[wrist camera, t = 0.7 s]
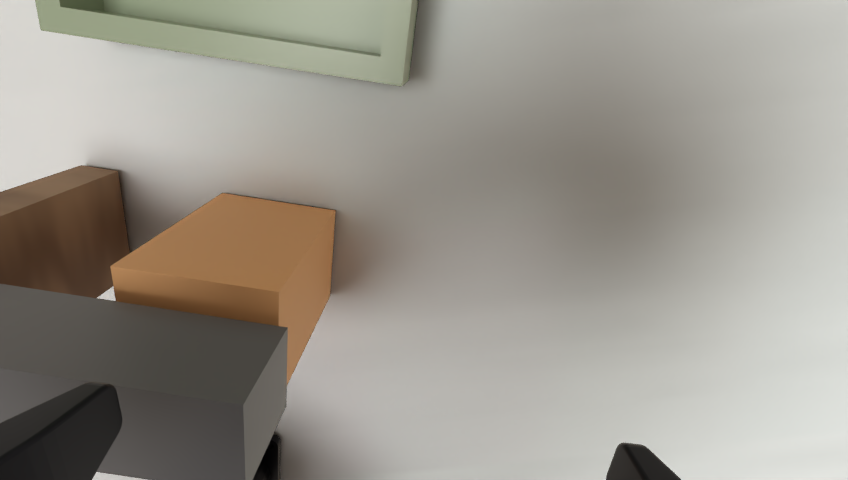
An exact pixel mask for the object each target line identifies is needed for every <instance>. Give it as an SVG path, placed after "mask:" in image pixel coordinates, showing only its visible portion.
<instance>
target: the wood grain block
mask: <svg viewBox="0 0 848 480" xmlns="http://www.w3.org/2000/svg"><path fill="white" fill-rule="evenodd" d="M128 254H130V251H129V244H128V237H127V230H126V223H125V216H124V209H123V203H122V196H121V189H120V182H119V175H118V171H114V170H108V169H101V168H95V167H88V166H82V165H81V166H78V167H75V168H72V169H69V170H66V171H63V172H60V173H57V174H54V175H51V176H48V177H45V178H42V179H39V180H36V181H32V182H29V183H26V184H23V185H20V186H17V187H14V188H11V189H8V190H5V191H2V192H0V284H6V285H12V286H19V287H25V288H32V289H39V290H45V291H52V292H58V293H65V294H71V295H78V296H84V297H91V298H97V297H98V296H100V295H101V294H103V293H104V292H105V291H107V290H108V289H110V288H111V287H112V286H113V280H112V274H111V268H110V266H111V265H113V264H114V263H116V262H117V261H119V260H120V259H122V258H124V257H125V256H127V255H128Z"/></svg>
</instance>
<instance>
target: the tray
mask: <svg viewBox="0 0 848 480" xmlns="http://www.w3.org/2000/svg"><path fill="white" fill-rule="evenodd" d="M418 1H419V0H35V2H36V7H37V13H38V18H39V23H40V28H41V30H42V31H49V32H55V33H62V34H68V35H75V36H81V37H87V38H94V39H100V40H107V41H113V42H119V43H126V44H132V45H139V46H145V47H152V48H158V49H164V50H171V51H177V52H184V53H190V54H196V55H203V56H209V57H216V58H222V59H229V60H235V61H241V62H248V63H254V64H261V65H267V66H273V67H280V68H286V69H293V70H299V71H306V72H312V73H318V74H325V75H331V76H338V77H344V78H350V79H357V80H363V81H370V82H376V83H383V84H389V85H395V86H403V85H404V84H405V83H406V82H408V81H409V75H410V67H411V58H412V50H413V42H414V34H415V25H416V17H417V9H418Z"/></svg>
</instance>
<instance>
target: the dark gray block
mask: <svg viewBox="0 0 848 480" xmlns="http://www.w3.org/2000/svg"><path fill="white" fill-rule="evenodd" d="M287 341H288V327H281V326H275V325H268V324H262V323H255V322H248V321H242V320H235V319H229V318H222V317H216V316H209V315H202V314H196V313H189V312H183V311H176V310H170V309H163V308H157V307H150V306H143V305H137V304H130V303H124V302H117V301H111V300H104V299H98V298H91V297H84V296H78V295H71V294H65V293H58V292H52V291H45V290H39V289H32V288H25V287H19V286H12V285H6V284H0V423H1V422H3V421H5V420H7V419H9V418H11V417H14V416H16V415H18V414H20V413H22V412H24V411H26V410H28V409H31V408H33V407H35V406H37V405H39V404H41V403H43V402H45V401H48V400H50V399H52V398H54V397H56V396H58V395H60V394H62V393H65V392H67V391H69V390H71V389H73V388H75V387H77V386H80V385H82V384H84V383H87V382H99V383H108V384H112V385H113V386H114V387H115V388H116V390H117V395H118V399H119V404H120V409H121V413H122V426H121V429H120V432H119V434H118V436H117V437H116V439H115V441H114V442H113V444H112V446H111V448H110V449H109V451H108V453H107V454H106V456H105V458H104V460H103V461H102V463H101V465H100V466H99V468H98V470H97V472H102V473H109V474H115V475H122V476H128V477H135V478H142V479H148V480H253V478H254V475H255V473H256V471H257V469H258V467H259V465H260V462H261V460H262V458H263V456H264V454H265V451H266V449H267V447H268V445H269V443H270V440H271V438H272V436H273V434H274V432H275V429H276V427H277V425H278V423H279V421H280V418H281V416H282V414H283V412H284V410H285V407H286V390H287Z"/></svg>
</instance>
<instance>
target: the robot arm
mask: <svg viewBox="0 0 848 480" xmlns="http://www.w3.org/2000/svg"><path fill="white" fill-rule="evenodd" d="M121 426H122V413H121V409H120V404H119V399H118V395H117V390H116V388H115V387H114V386H113V385H112V384H108V383H99V382H87V383H84V384H82V385H80V386H77V387H75V388H73V389H71V390H69V391H67V392H65V393H62V394H60V395H58V396H56V397H54V398H52V399H50V400H48V401H45V402H43V403H41V404H39V405H37V406H35V407H33V408H31V409H28V410H26V411H24V412H22V413H20V414H18V415H16V416H14V417H11V418H9V419H7V420H5V421H3V422H1V423H0V480H92V478H93V477H94V475H95V473H96V472H97V470H98V468H99V466H100V465H101V463H102V461H103V460H104V458H105V456H106V454H107V453H108V451H109V449H110V448H111V446H112V444H113V442H114V441H115V439H116V437H117V436H118V434H119V432H120V429H121ZM280 451H281V441H280V438H279V437H278V436H277V435H275V434H273V436H272V438H271V440H270V443H269V445H268V447H267V449H266V451H265V454H264V456H263V458H262V460H261V462H260V465H259V467H258V469H257V471H256V473H255V475H254V478H253V480H280ZM606 480H681V479H680V478H679V477H678V476H677V475H676V474H675V473H674V472H673V471H672V470H670V469H669V468H668V467H667V466H666V465H665V464H664V463H663V462H662V461H661V460H660V459H659V458H658V457H657V456H656V455H655V454H653V453H652V452H651V451H650V450H649V449H648V448H647V447H645V446H643V445H639V444H631V443H621V444H619V445H618V447H617V449H616V451H615V454H614V457H613V459H612V462H611V465H610V467H609V470H608V473H607V477H606Z"/></svg>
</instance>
